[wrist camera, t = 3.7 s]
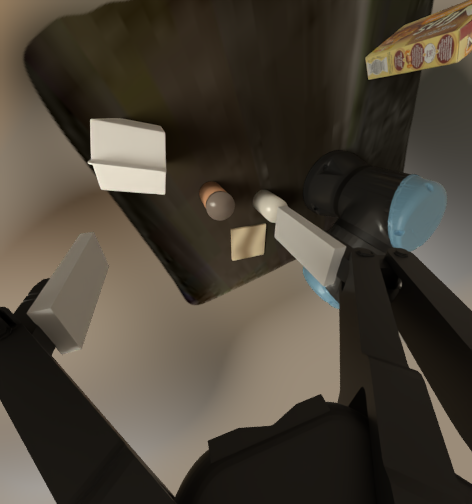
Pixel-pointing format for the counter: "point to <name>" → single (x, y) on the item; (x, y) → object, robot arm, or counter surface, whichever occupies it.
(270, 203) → the white rounded cylinder
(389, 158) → the counter surface
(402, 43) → the candy box
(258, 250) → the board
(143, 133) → the milk
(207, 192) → the jar
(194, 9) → the counter surface
